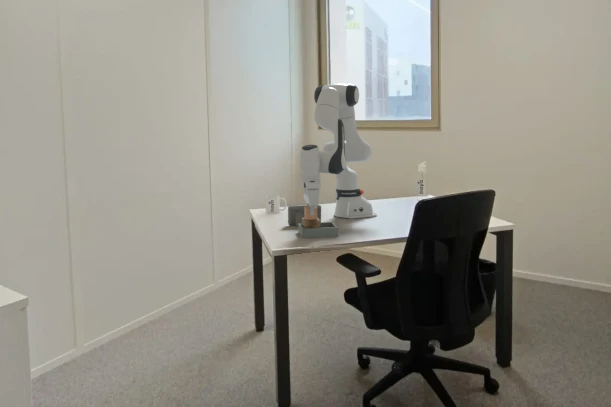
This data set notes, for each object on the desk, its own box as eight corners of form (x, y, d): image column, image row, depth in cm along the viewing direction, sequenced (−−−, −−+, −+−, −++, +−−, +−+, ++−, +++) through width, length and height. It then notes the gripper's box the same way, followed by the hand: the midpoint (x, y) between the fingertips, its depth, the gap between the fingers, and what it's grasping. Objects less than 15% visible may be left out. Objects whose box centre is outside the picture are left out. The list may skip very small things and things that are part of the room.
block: (317, 232, 257) (317, 217, 256) (320, 236, 250) (320, 220, 248) (302, 232, 256) (301, 217, 255) (304, 236, 249) (304, 221, 247)
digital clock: (322, 224, 278) (322, 203, 276) (320, 228, 269) (319, 206, 267) (289, 224, 280) (289, 203, 278) (286, 228, 272) (285, 206, 270)
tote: (333, 232, 260) (332, 221, 260) (338, 238, 249) (338, 227, 248) (298, 234, 258) (298, 223, 257) (302, 240, 247) (301, 229, 246)
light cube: (315, 217, 255) (315, 206, 254) (317, 219, 250) (317, 208, 249) (304, 217, 254) (304, 206, 253) (306, 219, 249) (305, 208, 248)
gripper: (300, 179, 259) (300, 209, 261) (306, 185, 239) (307, 218, 241) (313, 179, 260) (314, 208, 262) (321, 185, 240) (321, 217, 242)
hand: (310, 213), depth 251 cm, fingers open, 5 cm apart
